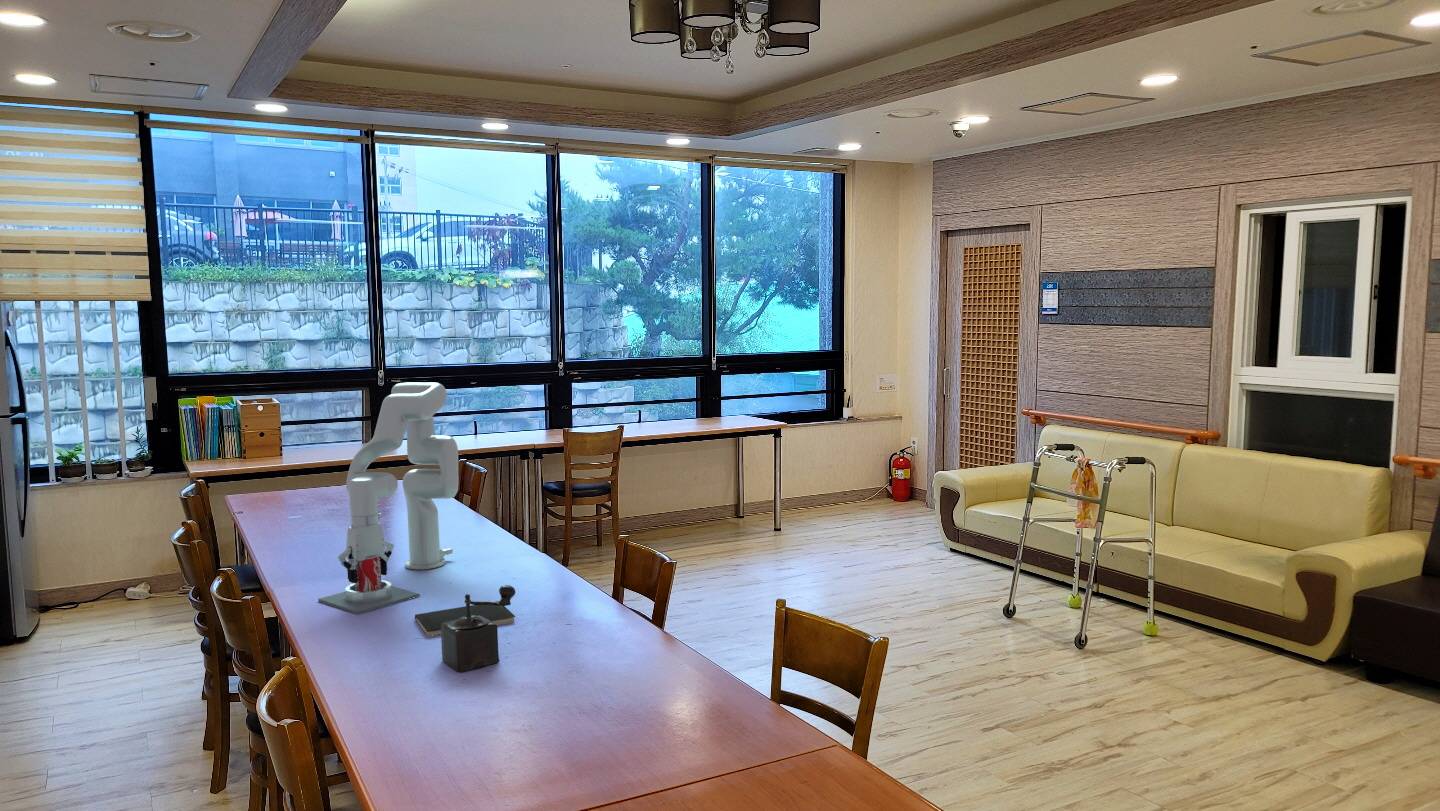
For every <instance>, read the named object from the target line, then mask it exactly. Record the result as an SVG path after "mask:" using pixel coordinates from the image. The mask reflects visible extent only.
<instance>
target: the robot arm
mask: <svg viewBox="0 0 1440 811" xmlns="http://www.w3.org/2000/svg"><path fill="white" fill-rule="evenodd" d="M390 393H391V394H388V395H387V396H386V397H384V399H383V401H382V403H381V406H380V411H379V414H378V418H377V422H376V425H375V426H376V427H375V429H374V433H373V437H372V439H370V440H369V441H368V442H367V443H365V444H364V445H363V446H362V447H361V448H360V449H359V450H358V451H357V453H356V454H355V455H354V456H353V458H352V460H351V462H350V466H349V469H348V472H347V477H346V483H345V488H346V491H347V494H348V496H349V498H348V499H349V511H350V512H349V513H350V526H348V527H347V534H346V540H345V541H346V544H345V546H346V547H345V548H346V549H345V550H344V551H342V552H341V553H340V554H339V555H338V556H337V559H338V561H339V562H340V564H341V565H342V566H343V567H344V568H345V569H346V572H347V580H348V583H350V584H353V583H356V582H357V574H356V569H355V566H356V565H357V563H358V562H361V561H364V560H365V558H371V557H375V556H377V557H378V558H379V559H380V566H381V576H387V575H388V572H387V571H388V561H389V560H390V559H389V558H390V557H391V555H392V553H393V552H392V551H393V550H394V547H395V545H394V543H390V542H387V541H385V535H384V532H383V531H384V530H383V526H382V524H381V522H379V520H380V518H382V517H383V516H382V515H383V514H382V513H380V512H379V506H378V505H379V504H378V501H379V500H381V499H387V498H389V497H392V496H393V495H394V494H396V491H398V490H397V489H398V485H399V483H398V479H397V477H396V476H395V475H394V474H392V473H390V472H376V471H367V468H368V467H369V465H370V464H371V463H373V462H374V461H375V460H377V459H378V458H380V457H382V456H385V455H387V454H389V453H391V452H394V451H396V450H398V449H400V448H401V446H402V445H403V442H404V437H405V433H406V446H407V447H406V451H407V452H406V453H407V460H408V462H410V463H411V464H414V465H422V466H423V465H424V466H426V465H427V466H430V465H431V466H439V468H415V469H411V470H409V471H407V472H405V474H404V476H403V477H402V489H403V493H404V497H405V502H406V503H405V504H406V511H407V512H406V513H407V529H408V547H409V548H408V550H409V559H408V560H406V561H405V563H404V566H405V568H407V569H409V570H414V571H415V570H418V571H419V570H422V571H423V570H432V569H435V568H436V569H437V568H439V567H442V566H444V565H445V564H446V558H444V557H445V556H446V555H447V556H448V555H451V554H453V552H454V551H453V548H452V547H449V548H441V547H440V542H441V541H440V528H439V526H440V525H439V510H438V507H437V505H436V503H435V501H434V500H433V499H435V500H436V499H437V500H438V499H439V500H442V499H443V500H444V499H445V500H447V499H452V498H454V497H455V496H456V495H457V493H458V491H459V449H458V444H457V442H456V440H455V438H454V437H452V436H449V435H444V434H443V435H441V434H440V435H438V434H437V435H436V434H435V420H434V415H436V414H437V413H438V412H439V411H441V410H442V409H443V407H444V406H445V404H446V402H447V397H448V395H447V390H446V388H445V386H444V385H443V384H441V383H439V382H400V383H396V384H395V385H393V386H392V388H391V391H390ZM347 560H348V561H347Z"/></svg>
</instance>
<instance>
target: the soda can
mask: <svg viewBox="0 0 1440 811" xmlns="http://www.w3.org/2000/svg"><path fill="white" fill-rule="evenodd" d="M354 569H356V574H357V582H356V591H372V590H377V589H381V580H382V575H381V566H380V559H379V558H378V557H377V556H375V557H371V558H365V560H364V561H361V562H358V563H357V565H356V566H355V568H354Z"/></svg>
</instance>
